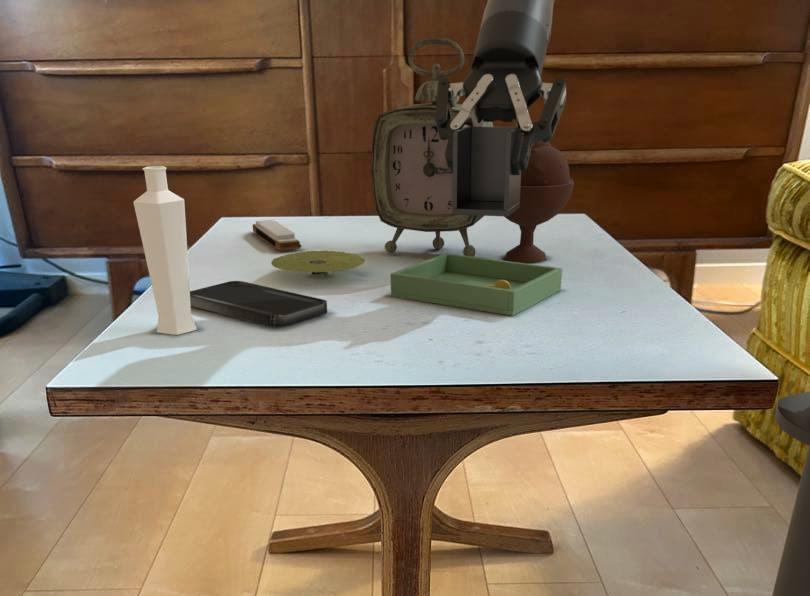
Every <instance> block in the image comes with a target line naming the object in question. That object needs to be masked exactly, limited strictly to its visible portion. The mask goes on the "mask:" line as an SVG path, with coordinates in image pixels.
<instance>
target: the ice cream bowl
mask: <svg viewBox="0 0 810 596" xmlns="http://www.w3.org/2000/svg"><path fill="white" fill-rule="evenodd" d="M574 187H575V181H574V180H573V178H571V175H570V167H569V163H568V158H567V156H565V155H564V154H563V153H562V152H561V151H560V149H557V148H555V147H553V146H552V145H551V141H549V142H543V141H542V140H540V141H537V142H535V143H534V144H533V145H532V148H531V153H530V157H529V162H528V166H527V168H526V169H525V170H521V186H520V207H519V208H518V209H517V210H515V211H514V212H513V213H511V214H510V215H509V216H507V217H505V216H503V217H504V218H505V219H506V220H508V221H509V222H511V223H513V224H516V225H518V226H519V230H520V239H519V244H518V245H516V246H514V247H513V248H511V249H509V250H508V251H506V253H505V256H504V257H505V258H504V259H505V261H510V262H518V263H526V264H533V263H541V262H544V261H547V255H546V252H545V251H544V250H542V249H541V248H539V247H538V246H536V245H535V244H534V237H535V230H536V228H537V226H539V225H542V224H544V223H547V222H549V221H550V220H552V219H553V218H554V217H556V216H557V215H558V214H559V213H560V212H561V211H562V210H563V209H564V208H565V207H566V206H567V204H568V203H569V200H570V199H571V197H572V194H573V190H574Z"/></svg>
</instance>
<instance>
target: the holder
mask: <svg viewBox="0 0 810 596" xmlns="http://www.w3.org/2000/svg"><path fill="white" fill-rule="evenodd" d="M520 130H521V129H520V127H516V126H493V127H465V128H462V129H459V130H456V131H453V192H452V208H453V209H452V214H453V215H479V216H484V217H504V216H505V217H507V216H509V215H510V214H511V213H513V212H514V211H515V210H517V209H518V208H519V207H520V186H521V173H520V175H513V171H512V156H513V151H514V147H515V142H516V137H517V133H518V132H520ZM505 217H504V218H505Z"/></svg>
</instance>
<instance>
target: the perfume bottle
mask: <svg viewBox="0 0 810 596" xmlns="http://www.w3.org/2000/svg"><path fill="white" fill-rule="evenodd" d="M141 169H142V170H143V171H144V177H145V185H146V191H145V192H144V193H143V194H141V195H140V196H139V197H137V198H136V199H134V201H133V202H132V203H133V207H134V212H135V215H136V221H137V225H138V229H139V235H140V239H141V243H142V247H143V252H144V256H145V262H146V266H147V271H148V275H149V280H150V284H151V288H152V293H153V297H154V302H155V306H156V310H157V315H158V316H157V317H158V318H157V329H156V333H159V334H165V335H173V336H178V335H183V334H186V333H189V332H193V331H196V330H198V329H197V325H196V323H195V321H194V318H193V315H192V308H191V307H192V306H191V304H190V291H191V290H190V274H189V256H188V255H189V253H188V238H187V222H186V221H187V220H186V204H185V198H183V197H181V196H179V195H178V194H176V193H174V192H172V191H170V189H169V187H168V180H167V179H168V178H167V171H166V170H167V166H164V165H154V166H153V165H150V166H149V165H148V166H145V167H143V168H141Z"/></svg>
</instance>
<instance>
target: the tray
mask: <svg viewBox="0 0 810 596" xmlns="http://www.w3.org/2000/svg"><path fill="white" fill-rule="evenodd" d="M562 276H563V268H562V267H558V266H557V267H556V266H548V265H540V264H533V263H521V262H512V261H509V260H502V259H495V258H488V257H479V256H473V257H472V256H464V254H455V253H449V252H445V253H443V254H440V255H437V256H434V257H431V258H429V259H427V260H426V259H425V260H423V261H421V262H418V263H415V264H412V265H411V266H408V267H407V266H406V267H405V268H402V269H400V270H397V271H394V272H391V273H390V296H391V297H392V298H393V297H395V298H400V299H407V300H413V301H418V302H424V303H431V304H438V305H443V306H449V307H456V308H461V309H462V308H463V309H467V310H468V309H469V310H475V311H481V312H485V313H486V312H487V313H492V314H497V315H498V314H500V315H505V316H512V317H513V316H515V315H517V314H519V313H521V312H522V311H525V310H526V309H528V308H531V307H532V306H534V305H536V304H538V303H540V302H542V301H544V300H546V299H547V298H548V297H552V296H553V295H554V294H556V293H558V292H560V291H561V289H562V287H561V286H562V278H563V277H562ZM499 280H506V281H507V282H508V283H509V284H510V286H511V290H509V289H502V288H495V287H488V286H487V285H495V284H496V282H497V281H499Z"/></svg>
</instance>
